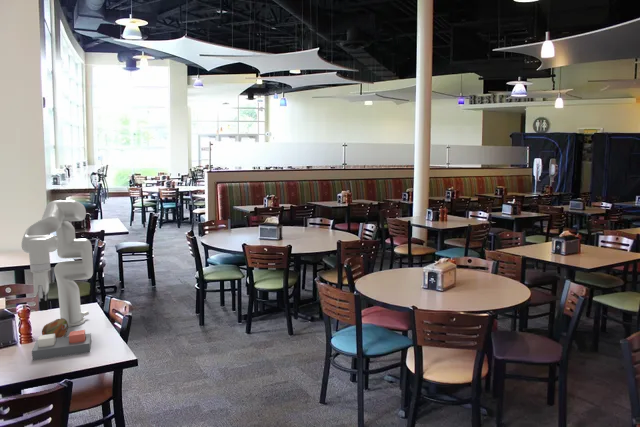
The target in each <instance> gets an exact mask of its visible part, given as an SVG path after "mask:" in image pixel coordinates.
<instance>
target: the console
mask: <svg viewBox="0 0 640 427" xmlns="http://www.w3.org/2000/svg"><path fill="white" fill-rule="evenodd" d="M85 335H86V340H85V341H83V342H76V343H70V342H69V335H68V336H67V335H66V336H63V337H59V338H56V343H55V345H53V346H46V347H38V339H36V341H35V343H34V345H33V347H32V350H31V357H32V361H38V360H39V361H40V360H47V359H51V358H52V359H55V358H58V357H67V356H74V355H81V354H89V353H91V347H92V342H93V340H92V333H85Z"/></svg>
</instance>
